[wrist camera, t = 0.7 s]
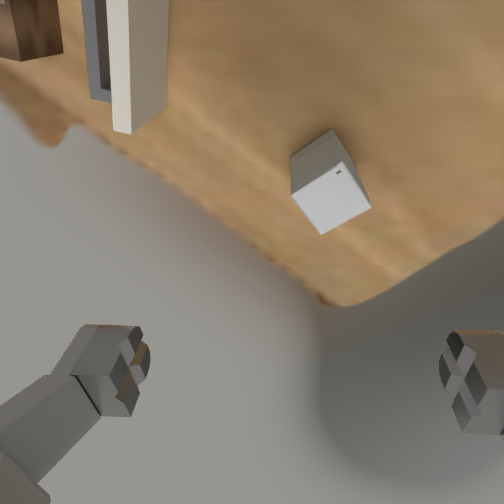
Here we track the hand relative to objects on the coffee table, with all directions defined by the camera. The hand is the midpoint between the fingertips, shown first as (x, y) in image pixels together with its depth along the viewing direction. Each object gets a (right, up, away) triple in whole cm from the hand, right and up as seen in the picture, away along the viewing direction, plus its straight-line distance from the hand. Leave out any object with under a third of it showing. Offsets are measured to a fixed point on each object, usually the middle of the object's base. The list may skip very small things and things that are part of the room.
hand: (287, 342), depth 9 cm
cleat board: (-16, +33, +32) cm, 49 cm away
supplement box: (+10, +16, +42) cm, 46 cm away
